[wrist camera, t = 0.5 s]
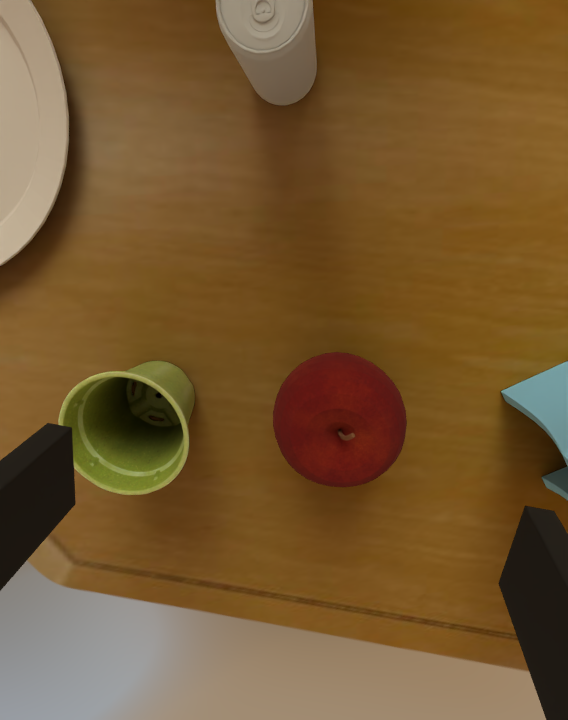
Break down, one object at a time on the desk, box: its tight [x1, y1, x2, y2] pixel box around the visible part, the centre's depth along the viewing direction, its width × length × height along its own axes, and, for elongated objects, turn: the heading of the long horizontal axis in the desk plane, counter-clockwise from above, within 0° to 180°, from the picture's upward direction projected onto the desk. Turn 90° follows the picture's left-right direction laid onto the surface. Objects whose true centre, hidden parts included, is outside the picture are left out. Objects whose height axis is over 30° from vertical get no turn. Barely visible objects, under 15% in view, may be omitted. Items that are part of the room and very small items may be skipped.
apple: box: [273, 352, 407, 487], centre depth 37 cm, size 10×10×10 cm
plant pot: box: [59, 361, 195, 495], centre depth 39 cm, size 9×9×9 cm
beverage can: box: [216, 0, 317, 105], centre depth 30 cm, size 5×5×12 cm
